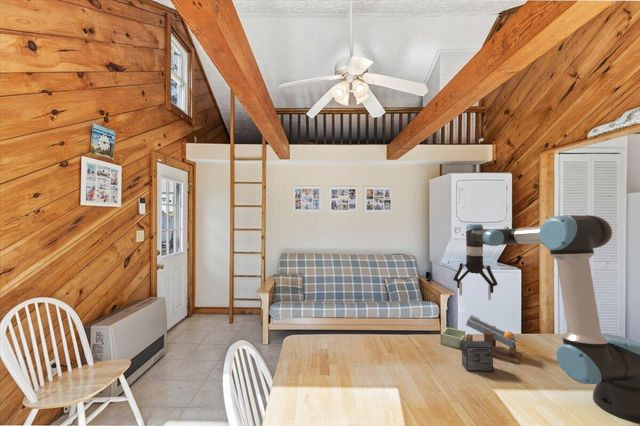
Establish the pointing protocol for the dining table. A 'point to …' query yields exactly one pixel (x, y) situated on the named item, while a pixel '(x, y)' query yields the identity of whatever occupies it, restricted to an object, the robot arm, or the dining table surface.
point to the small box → (477, 356)
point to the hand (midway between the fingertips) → (474, 297)
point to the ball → (509, 335)
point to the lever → (490, 330)
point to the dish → (452, 337)
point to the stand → (499, 349)
